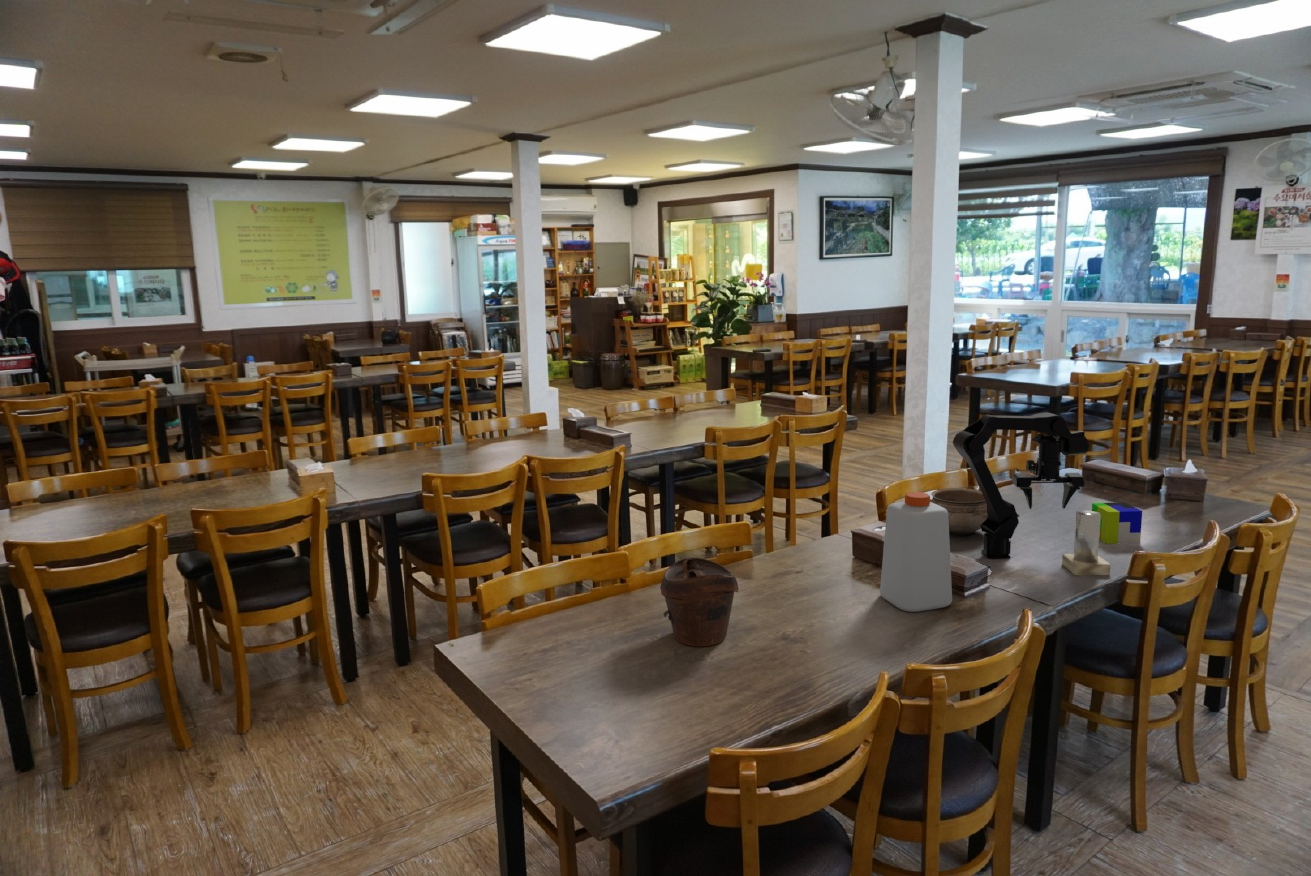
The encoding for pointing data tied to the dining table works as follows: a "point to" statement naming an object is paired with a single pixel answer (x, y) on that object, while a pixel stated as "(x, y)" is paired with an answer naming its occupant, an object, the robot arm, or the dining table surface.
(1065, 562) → the birch block
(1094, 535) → the metal cylinder
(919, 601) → the plastic bottle
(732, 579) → the brown lidded bucket
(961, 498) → the cooking pot
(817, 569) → the dining table surface
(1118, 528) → the puzzle toy
